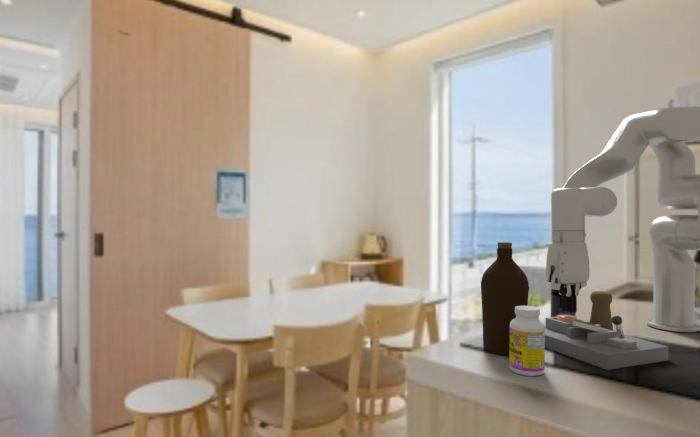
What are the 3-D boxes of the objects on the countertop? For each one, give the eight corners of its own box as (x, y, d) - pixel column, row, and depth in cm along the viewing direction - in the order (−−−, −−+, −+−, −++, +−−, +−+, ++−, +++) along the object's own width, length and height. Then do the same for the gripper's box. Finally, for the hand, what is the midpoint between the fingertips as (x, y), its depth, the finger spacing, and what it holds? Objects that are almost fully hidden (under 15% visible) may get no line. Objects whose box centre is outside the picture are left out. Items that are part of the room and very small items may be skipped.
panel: (578, 333, 123) (578, 313, 123) (668, 360, 100) (668, 335, 100) (523, 340, 116) (523, 318, 116) (607, 369, 94) (607, 342, 94)
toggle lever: (620, 334, 102) (615, 313, 101) (628, 336, 100) (623, 315, 100) (614, 338, 101) (608, 317, 101) (622, 340, 100) (616, 319, 99)
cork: (617, 335, 121) (617, 293, 121) (592, 334, 122) (592, 293, 122) (609, 330, 127) (609, 290, 127) (585, 329, 128) (585, 289, 128)
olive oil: (503, 358, 101) (504, 244, 101) (471, 346, 111) (471, 241, 111) (538, 352, 106) (539, 243, 106) (504, 341, 115) (505, 240, 115)
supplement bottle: (503, 366, 96) (504, 304, 96) (534, 365, 97) (534, 304, 97) (518, 377, 89) (518, 311, 89) (551, 376, 90) (551, 310, 90)
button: (566, 326, 118) (566, 314, 118) (581, 330, 114) (581, 317, 114) (553, 327, 116) (553, 315, 116) (567, 331, 112) (567, 319, 112)
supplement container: (549, 326, 131) (550, 289, 131) (550, 321, 137) (550, 286, 137) (576, 329, 128) (576, 291, 128) (576, 323, 134) (576, 288, 134)
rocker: (600, 331, 111) (601, 326, 111) (615, 335, 107) (616, 330, 107) (572, 324, 108) (574, 319, 108) (587, 328, 104) (588, 323, 104)
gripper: (578, 235, 121) (579, 305, 121) (533, 238, 116) (534, 311, 116) (603, 237, 114) (604, 311, 114) (556, 239, 109) (557, 317, 109)
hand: (569, 311), depth 115 cm, fingers closed
